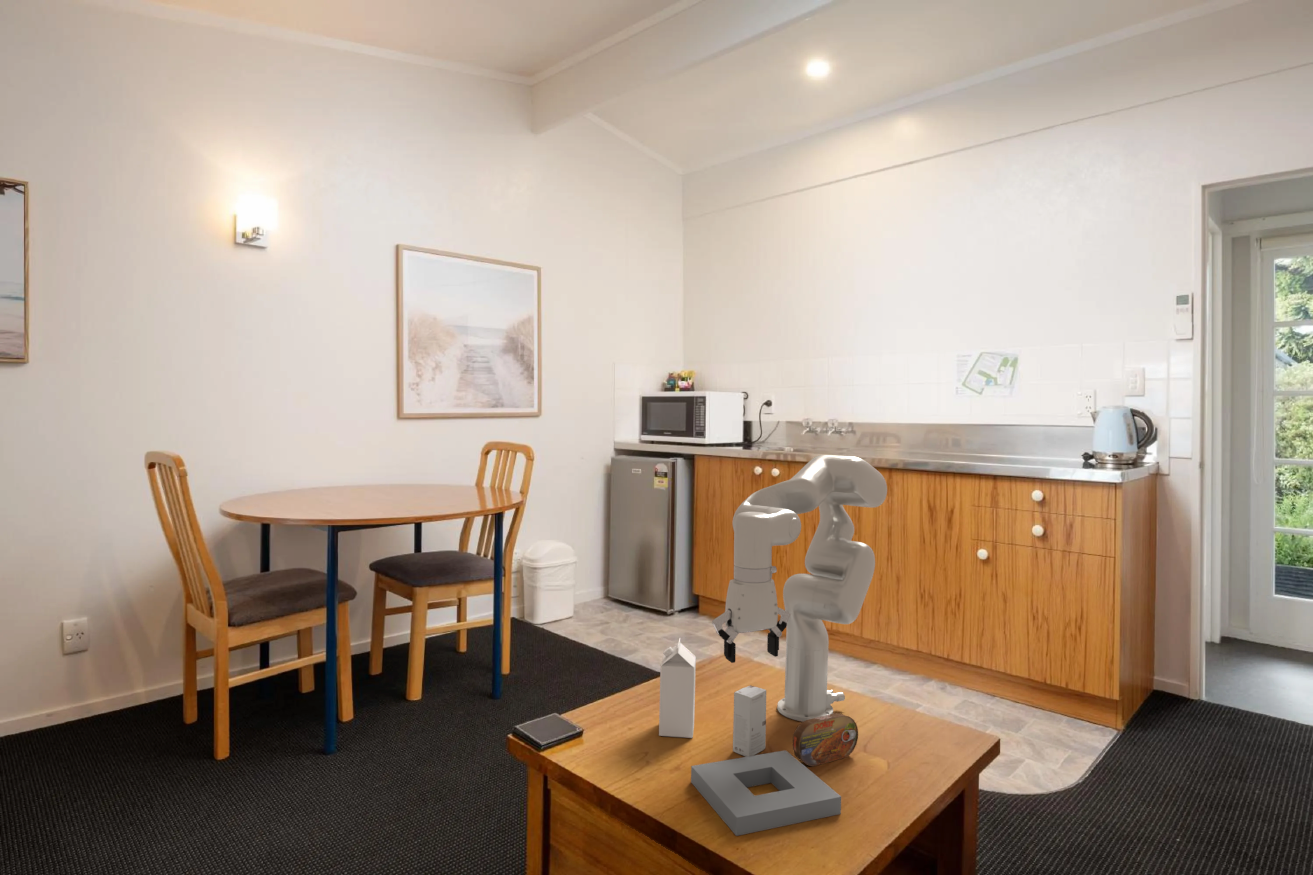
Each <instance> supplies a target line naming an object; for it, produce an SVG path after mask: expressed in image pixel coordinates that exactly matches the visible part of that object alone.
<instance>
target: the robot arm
mask: <svg viewBox="0 0 1313 875" xmlns="http://www.w3.org/2000/svg"><path fill="white" fill-rule="evenodd" d="M887 494H888V485H887V481H886V479H885V477H884V475H883V474H882V473H881V472H880V471H879V470H877V469H876V468H875V467H874V466H873V465H871V464H870V463H869V462H867V460H865V459H863V458H860V457H857V456H853V455H851V456H850V455H834V454H833V455H832V454H820V455H817V456H814V457H812V459H810V460H809V461H808V462H807V463H806V464H805V465H804V466H803V467H802V468H801V469H800V470H799V471H797V473H796V474H794V475H793V476H792V477H791V478H790V479H787V480H785V481H781V482H778V483H775V484H773V485H770V486H767V487H763V488H761V489H759V490H757V491H755V492H753V493H751V494H750V495H749V496H747V498H746V499H745V500H743V501H742V503H741V504H740V505H739V506H738V507H737V508H736V510H735V512H734V514H733V518H732V528H733V533H734V534H733V538H734V539H733V579H730V580H729V583H728V587H727V592H726V598H725V609H724V612H723V613H722V614H720V615H718V616H717V617H716V618H714V619H713V620H712V621H711V624H712V626H713V627H714V630H715V633H716V634H717V635H718V636H719V637H720V638H721V639H722V640H723V656H724V658H725V659H726V660H727V661H729V662H730V663H731V664H734V663H736V656H737V655H736V650H737V648H736V645H737V644H736V643H735V642H734V641H735V639H736V638H737V637H738V635H739V634H743V633H750V632H751V633H752V632H759V631H766V630H767V631H769V632H767V639H766V640H767V644H766V646H767V649H766V650H767V652H768V653H769V654H770V655H771V656H773V657H779V650H780V638H781V636H782V635H783V632H784V630H786V637H785V640H786V641H785V644H786V645H785V673H784V674H785V675H784V676H785V677H784V697H783V698H782V699H779V700H778V702H777V707H776V708H777V711H778V712H779V714H781V715H782V716H784V717H785V718H788V719H790V720H791V719H792V720H794V721H799V722H804V721H805V720H809V719H813V718H817V717H821V716H826V715H830V714H834V707H833V706H832V704H834V702H843V701H845V699H846V695H845V694H844V692H842V691H839V692H834V691H833V689H830V690H829V689H828V671H829V670H828V667H829V644H830V643H829V639H830V638H829V633H828V630H827V629H826V626H825V623H824V622H823V621H825V622H829V623H834V624H841V625H850V624H852V623H853V622H855V621H856V620H857V619H858V616H859V615H860V612H861V610H862V607H863V604H864V602H865V599H866V596H867V594H868V590H869V587H870V585H871V583H872V580H873V577H874V575H875V574H874V573H875V568H876V556H875V553H874V551H873V549H872V548H871V547H870V545H868V544H867V543H864V542H861V541H855V540H852V539H853V537H854V534H855V525H854V523H853V521H852V519H851V517H850V515H849V514H848V512H847V511H846V509H845V507H844V506H850V507H862V508H879V506H881V505H882V504H883V503H885V501H886V498H887ZM817 508H818V510H819V522H818V525H817V528H816V530H815V533H814V535H813V537H812V539H811V541H810V544H809V547H808V549H807V551H806V554H805V558H804V567H805V569H806V571H807V572H808V573H797V574H796V573H795V574H792V575H791V576H790V577H788V578H787V579H786V580H785V583H784V586H783V590H782V598H783V605H784V609H783V608H781V607H778V597H777V590H776V584H775V580H774V579H773V574H775V573H777V570H778V569H777V567H776V566H775V565H772V564H773V562H772V561H773V559H772V557H773V554H772V553H773V548H772V547H774V546H788V545H790V544H792V543H794V542H796V540H797V539H798V538H799V536H800V535H801V530H802V522H801V519H800V516H799V515H800V514H805V513H806V514H807V513H810V512H812V511H814V510H815V509H817ZM779 616H780V617H779ZM778 618H779V619H778ZM723 624H724V625H725V626H726V629H725V630H724V628H723Z"/></svg>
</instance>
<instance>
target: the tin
mask: <svg viewBox="0 0 1313 875" xmlns="http://www.w3.org/2000/svg"><path fill="white" fill-rule="evenodd" d="M858 740H859V729H858V725H857V723H856V720H854V719H853V718H852V717H851V716H849V715H845V714H842V713H839V712H833V714H830V715H826V716H821V717H817V718H813V719H809V720H805V721H804V722H803V721H801V723H799V724H798V726H797V727H796V729H795V730H794V732H793V737H792V750H793V751H792V752H793V753H794V755H795V756H796V757H795V758H796V759H797V760H800V762H803V763H804V764H806V765H807V766H808V767H809V766H810V767H817V766H820V765H824V764H827V763H831V762H834V761H839V760H842V759H845V758H847V757H849V756H850V755H851V754H852V753H853V752H854V750H855V748H856V746H857V745H858V744H857V743H858Z"/></svg>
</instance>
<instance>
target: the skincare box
mask: <svg viewBox="0 0 1313 875" xmlns="http://www.w3.org/2000/svg"><path fill="white" fill-rule="evenodd" d="M732 723H733V727H732V728H733V730H732V752H734V753H736V754H738V755H741V756H743V757H748V756H754V755H758V754H759V753H761V752H762V751H764V750H765V749H766V736H767V734H766V732H767V729H766V728H767V689H764V688H761V687H758V686H754V685H748V686H744V687H743V688H740V689H739V690H736V691H734V693H733V722H732Z"/></svg>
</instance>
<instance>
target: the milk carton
mask: <svg viewBox="0 0 1313 875" xmlns="http://www.w3.org/2000/svg"><path fill="white" fill-rule="evenodd" d="M662 653H663V655H662V656H663V657H662V660H661V663H660V669H659V670H660V672H659V673H660V677H659V678H660V679H659V710H658V711H659V715H658V716H659V718H658V719H659V720H658V721H659V722H658V736H660V737H661V736H662V737H672V738H689V739H693V736H694V731H695V730H694V729H695V708H696V707H695V705H696V704H695V703H696V702H695V700H696V666H697V665H696V662H697V661H696V660H697V658H696V655H695V654H694V653H692V652H691V650H689V649H688V648H687V647H686V646H685V645H684V644H683V643H682V642H681V637H679V639H678V642H677V644H675V645H674V646H673V647H672V646H668V647H667V648H665V649H664V651H663V652H662Z"/></svg>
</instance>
